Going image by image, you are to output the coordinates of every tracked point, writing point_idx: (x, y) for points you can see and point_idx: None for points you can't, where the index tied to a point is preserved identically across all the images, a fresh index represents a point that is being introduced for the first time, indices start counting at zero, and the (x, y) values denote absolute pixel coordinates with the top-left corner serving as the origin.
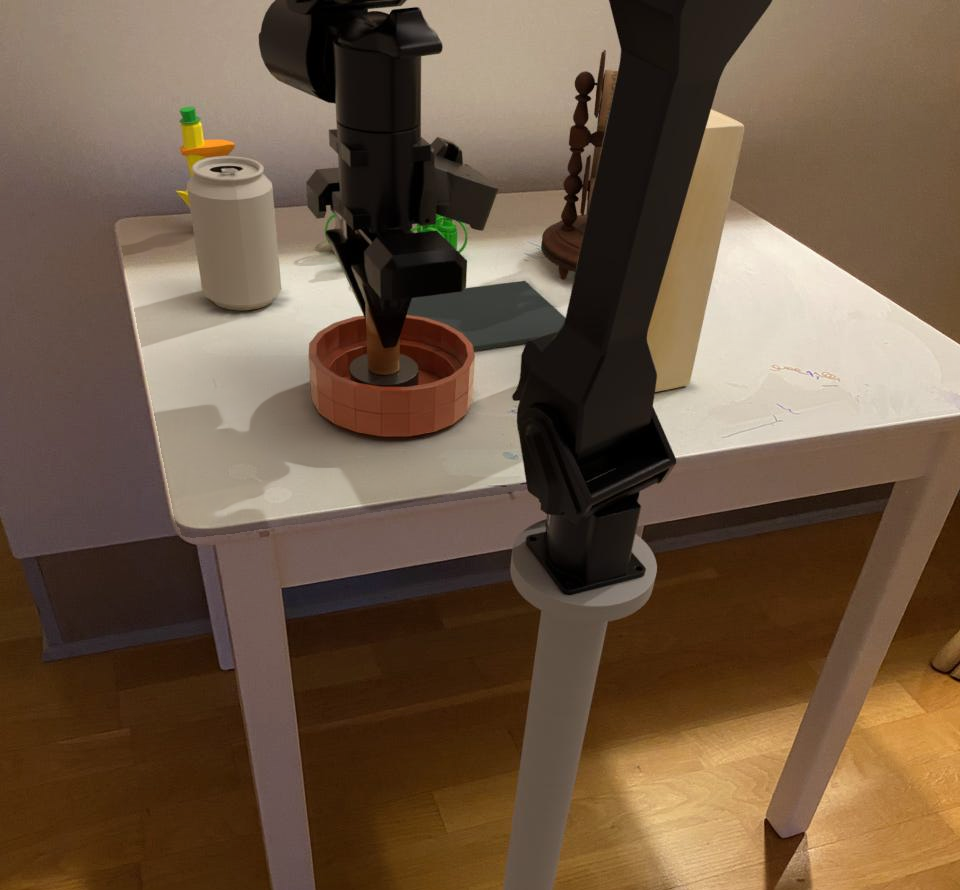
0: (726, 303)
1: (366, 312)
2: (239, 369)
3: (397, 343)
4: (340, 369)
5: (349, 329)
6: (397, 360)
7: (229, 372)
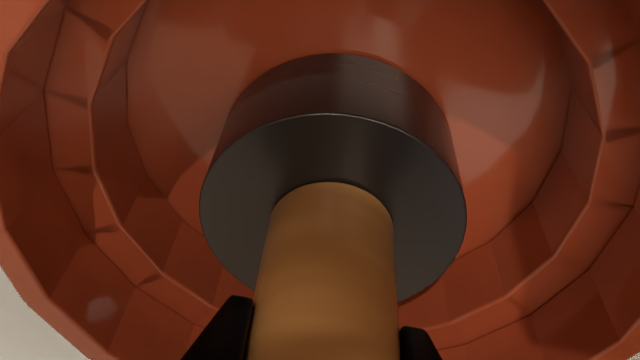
0: None
1: None
2: (26, 326)
3: (428, 336)
4: (162, 223)
5: (40, 237)
6: (391, 245)
7: (37, 343)
